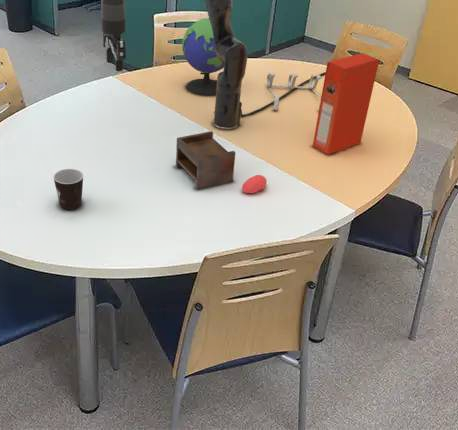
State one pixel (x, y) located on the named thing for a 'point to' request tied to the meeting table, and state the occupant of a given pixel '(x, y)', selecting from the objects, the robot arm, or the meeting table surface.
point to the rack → (205, 160)
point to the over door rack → (290, 85)
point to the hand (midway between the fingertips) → (114, 66)
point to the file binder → (344, 102)
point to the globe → (201, 57)
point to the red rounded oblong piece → (254, 184)
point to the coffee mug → (69, 188)
